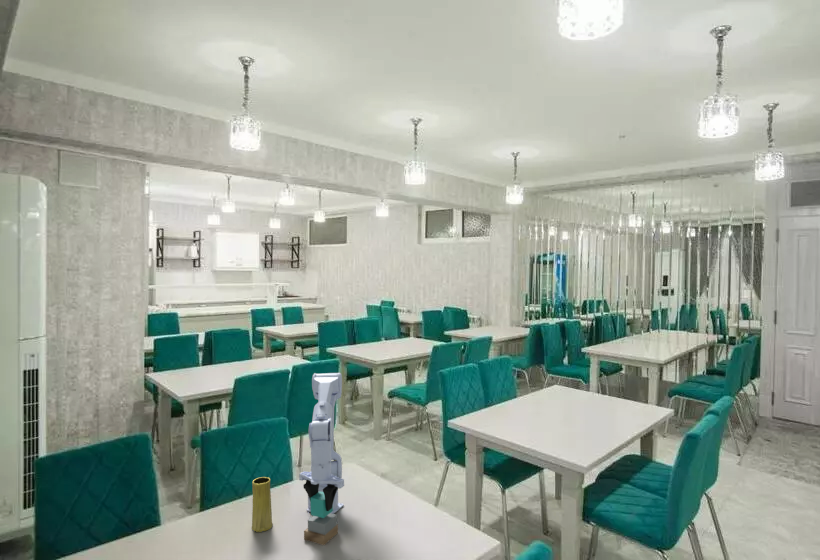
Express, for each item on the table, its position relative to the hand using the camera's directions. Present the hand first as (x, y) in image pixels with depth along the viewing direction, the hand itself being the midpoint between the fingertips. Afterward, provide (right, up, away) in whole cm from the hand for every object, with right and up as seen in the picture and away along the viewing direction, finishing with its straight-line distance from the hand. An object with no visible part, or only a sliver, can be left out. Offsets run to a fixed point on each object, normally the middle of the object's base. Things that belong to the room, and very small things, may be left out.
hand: (321, 507), depth 136 cm
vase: (-19, -9, +6) cm, 22 cm away
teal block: (0, -2, 0) cm, 2 cm away
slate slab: (0, -6, 0) cm, 6 cm away
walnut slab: (0, -9, 0) cm, 9 cm away
